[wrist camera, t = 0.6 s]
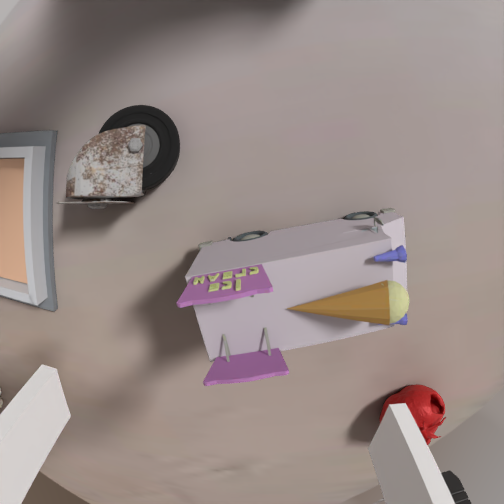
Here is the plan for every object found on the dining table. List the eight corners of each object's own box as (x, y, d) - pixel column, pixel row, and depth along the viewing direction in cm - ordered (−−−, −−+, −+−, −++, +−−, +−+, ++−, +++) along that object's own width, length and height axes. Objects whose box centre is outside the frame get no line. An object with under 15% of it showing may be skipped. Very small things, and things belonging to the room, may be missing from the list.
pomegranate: (374, 433, 42) (391, 477, 33) (371, 390, 39) (392, 437, 30) (431, 412, 41) (454, 451, 32) (435, 367, 38) (464, 407, 29)
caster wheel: (182, 117, 32) (177, 208, 34) (83, 119, 30) (76, 208, 31) (183, 97, 26) (176, 208, 27) (64, 101, 24) (54, 209, 25)
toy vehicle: (390, 279, 35) (457, 346, 20) (220, 312, 36) (202, 402, 21) (383, 198, 32) (465, 228, 18) (200, 231, 33) (161, 286, 19)
